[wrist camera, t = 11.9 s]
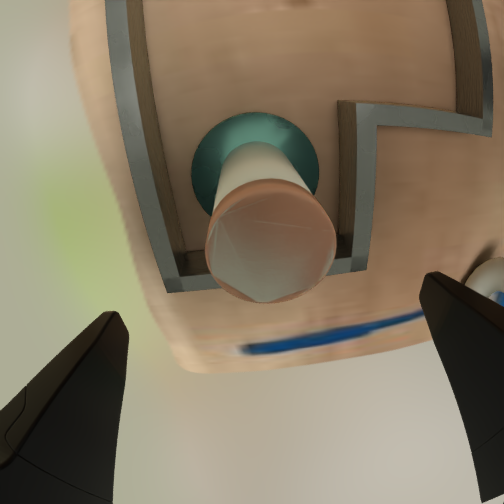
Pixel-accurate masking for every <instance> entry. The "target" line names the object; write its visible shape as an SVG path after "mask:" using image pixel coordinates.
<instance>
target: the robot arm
mask: <svg viewBox="0 0 504 504" xmlns="http://www.w3.org/2000/svg"><path fill="white" fill-rule="evenodd" d="M419 300H420V304H421V307H422V309H423V312H424V315H425V318H426V321H427V323H428V326H429V329H430V332H431V336H432V338H433V341H434V344H435V346H436V349H437V351H438V354H439V356H440V358H441V361H442V363H443V366H444V368H445V371H446V374H447V376H448V379H449V382H450V384H451V387H452V390H453V393H454V395H455V398H456V401H457V404H458V407H459V410H460V413H461V416H462V420H463V423H464V427H465V430H466V433H467V437H468V441H469V445H470V448H471V452H472V457H473V461H474V466H475V470H476V475H477V481H478V486H479V492H480V498H481V502H482V503H483V502H486V501H488V500H491V499H493V498H495V497H498V496H500V495H502V494H504V307H503V306H501V305H499V304H498V303H496V302H494V301H492V300H491V299H489V298H487V297H485V296H484V295H482V294H480V293H478V292H476V291H475V290H473V289H471V288H469V287H467V286H465V285H463V284H462V283H460V282H458V281H456V280H454V279H452V278H450V277H448V276H446V275H445V274H443V273H441V272H438V271H435V272H430V273H427V274H426V275H425V277H424V281H423V284H422V287H421V291H420V294H419ZM128 344H129V333H128V330H127V328H126V326H125V324H124V322H123V320H122V318H121V316H120V315H119V313H118V312H116V311H106V312H103V313H102V314H101V315H100V316H99V317H98V318H96V319H95V320H94V321H93V322H92V323H91V324H90V325H89V326H88V327H87V328H85V329H84V330H83V331H82V332H81V333H80V334H79V335H78V336H77V337H76V338H75V339H73V341H71V342H70V343H69V344H68V345H67V346H66V347H65V348H64V349H63V350H62V351H61V352H60V353H59V354H58V355H56V356H55V357H54V358H53V359H52V360H51V361H50V362H49V363H48V364H47V365H46V366H45V367H44V368H43V369H42V370H41V371H40V372H39V373H38V374H37V375H36V376H35V377H34V378H33V379H32V380H31V381H30V382H29V383H28V384H27V386H25V387H24V388H23V389H22V390H21V391H20V392H19V393H18V394H17V395H16V396H15V397H14V398H13V399H12V400H11V401H10V402H9V403H8V404H7V405H6V406H5V407H4V408H3V409H2V410H0V504H113V502H112V501H113V484H114V469H115V457H116V447H117V438H118V430H119V421H120V414H121V407H122V401H123V394H124V387H125V380H126V367H127V355H128ZM503 504H504V503H503Z"/></svg>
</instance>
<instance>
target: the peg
mask: <svg viewBox="0 0 504 504" xmlns="http://www.w3.org/2000/svg"><path fill="white" fill-rule="evenodd" d="M335 253H336V234H335V230H334V227H333V224H332V222H331V220H330V218H329V217H328V215H327V214H326V212H325V211H324V209H323V208H322V206H321V204H320V203H319V202H318V200H317V199H316V198H315V197H314V196H313V195H312V193H311V192H310V190H309V189H308V187H307V186H306V184H305V183H304V181H303V180H302V178H301V177H300V175H299V174H298V172H297V171H296V170H295V168H294V167H293V165H292V164H291V162H290V161H289V160H288V158H287V157H286V155H285V154H284V153H283V152H282V151H281V150H280V149H279V148H277V147H276V146H274V145H272V144H270V143H267V142H261V141H252V142H247V143H244V144H242V145H239V146H238V147H236V148H235V149H233V150H232V151H231V152H230V153H229V154H228V156H227V157H226V158H225V160H224V162H223V165H222V169H221V173H220V178H219V183H218V188H217V193H216V198H215V203H214V209H213V214H212V216H211V219H210V222H209V228H208V233H207V238H206V244H205V256H206V262H207V265H208V268H209V270H210V272H211V274H212V276H213V277H214V279H215V280H216V282H217V283H218V284H219V285H220V286H221V287H222V288H223V289H225V290H226V291H227V292H229V293H230V294H232V295H234V296H236V297H238V298H240V299H243V300H246V301H250V302H255V303H267V304H269V303H279V302H284V301H288V300H291V299H294V298H297V297H299V296H301V295H303V294H305V293H306V292H308V291H310V290H311V289H312V288H314V287H315V286H316V285H317V284H318V283H319V282H320V281H321V280H322V279H323V278H324V277H325V275H326V274H327V272H328V271H329V269H330V267H331V265H332V263H333V261H334V257H335Z"/></svg>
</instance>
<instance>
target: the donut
mask: <svg viewBox="0 0 504 504" xmlns="http://www.w3.org/2000/svg"><path fill="white" fill-rule="evenodd" d="M465 286H467V287H469V288H471V289H473V290H475V291H476V292H478V293H480V294H482V295H484V296H485V297H487V298H489V297H490V296H491V294H492V293H494V292H496V291H501V292H503V293H504V258H503V257H498V258H494V259H490V260H487V261H486V262H484V263H483V264H481V265H480V266H478V267H477V268H476V269H475V270H474V272H473V273H472V274H471V275H470V276H469V277H468V279H467V281H466V283H465Z"/></svg>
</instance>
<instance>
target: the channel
mask: <svg viewBox="0 0 504 504" xmlns="http://www.w3.org/2000/svg"><path fill="white" fill-rule="evenodd" d="M446 2H447V7H448V12H449V17H450V23H451V30H452V37H453V45H454V55H455V67H456V87H457V112H456V111H450V110H445V109H438V108H432V107H425V106H417V105H409V104H399V103H387V102H373V101H349V100H338V118H339V151H340V194H339V227H338V235H336V253H335V257H334V261H333V263H332V265H331V267H330V269H329V271H328V272H327V274H326V275H325V276H327V275H335V274H342V273H349V272H356V271H363V270H366V269H367V262H368V255H369V247H370V238H371V229H372V219H373V208H374V194H375V177H376V147H377V125H385V126H404V127H418V128H429V129H438V130H447V131H455V132H462V133H469V134H475V135H481V136H486V137H492V125H493V77H492V62H491V52H490V44H489V36H488V30H487V24H486V18H485V13H484V9H483V4H482V0H446ZM105 9H106V24H107V36H108V46H109V55H110V63H111V71H112V78H113V85H114V91H115V98H116V103H117V109H118V115H119V120H120V125H121V130H122V135H123V140H124V145H125V149H126V154H127V158H128V162H129V167H130V171H131V175H132V179H133V183H134V187H135V191H136V194H137V198H138V202H139V206H140V209H141V213H142V216H143V220H144V223H145V227H146V230H147V233H148V236H149V240H150V243H151V246H152V249H153V252H154V256H155V259H156V262H157V265H158V268H159V271H160V274H161V277H162V279H163V282H164V285H165V288H166V291H167V293H175V292H186V291H196V290H207V289H217V288H222V287H221V286H220V285H219V284H218V283H217V282H216V280H215V279H214V277H213V276H212V274H211V272H210V270H209V268H208V265H207V262H206V256H205V250H200V251H191V252H186V248H185V244H184V240H183V236H182V232H181V228H180V224H179V220H178V216H177V212H176V208H175V203H174V199H173V195H172V190H171V186H170V181H169V176H168V172H167V167H166V162H165V157H164V152H163V147H162V142H161V136H160V131H159V125H158V120H157V114H156V108H155V102H154V96H153V89H152V83H151V76H150V69H149V61H148V54H147V45H146V37H145V27H144V17H143V6H142V0H105ZM252 141H261V142H267V143H270V144H272V145H274V146H276V147H277V148H279V149H280V150H281V151H282V152H283V153H284V154H285V155H286V157H287V158H288V160H289V161H290V162H291V164H292V165H293V167H294V168H295V170H296V171H297V172H298V174H299V175H300V177H301V178H302V180H303V181H304V183H305V184H306V186H307V187H308V189H309V190H310V192H311V193H312V195H313V196H314V194H315V192H316V188H317V185H318V179H319V165H318V160H317V156H316V153H315V150H314V148H313V146H312V144H311V142H310V141H309V139H308V138H307V137H306V135H305V134H304V133H303V132H302V131H301V130H300V129H299V128H298V127H296V126H295V125H294V124H292V123H291V122H289V121H287V120H285V119H284V118H281V117H279V116H276V115H272V114H268V113H260V112H252V113H244V114H239V115H236V116H233V117H230V118H228V119H226V120H224V121H222V122H221V123H219V124H218V125H216V126H215V127H214V128H213V129H211V130H210V131H209V132H208V134H207V135H206V136H205V137H204V138H203V140H202V141H201V143H200V144H199V146H198V148H197V150H196V152H195V155H194V159H193V163H192V173H191V177H192V185H193V189H194V192H195V195H196V197H197V200H198V201H199V203H200V205H201V206H202V208H203V209H204V210H205V211H206V213H207V214H209V215H210V216H212V214H213V209H214V203H215V198H216V193H217V188H218V183H219V178H220V173H221V169H222V165H223V162H224V160H225V158H226V157H227V156H228V154H229V153H230V152H231V151H232V150H233V149H235V148H236V147H238V146H239V145H242V144H244V143H247V142H252Z"/></svg>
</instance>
